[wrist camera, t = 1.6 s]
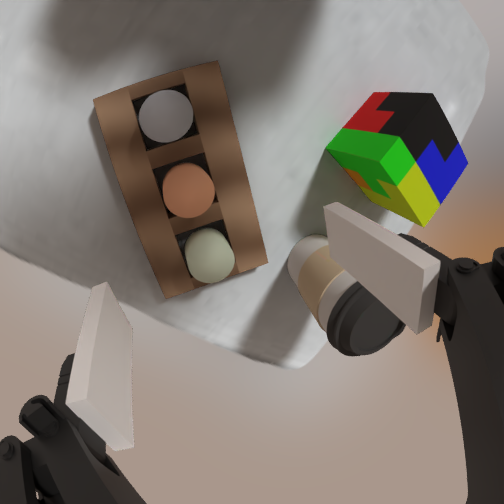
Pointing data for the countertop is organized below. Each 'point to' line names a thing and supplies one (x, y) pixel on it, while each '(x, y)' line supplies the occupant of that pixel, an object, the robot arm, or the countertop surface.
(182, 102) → the button grey
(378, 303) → the coffee cup
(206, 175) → the button terracotta
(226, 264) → the button sage
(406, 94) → the puzzle toy
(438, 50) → the countertop surface
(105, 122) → the button board
